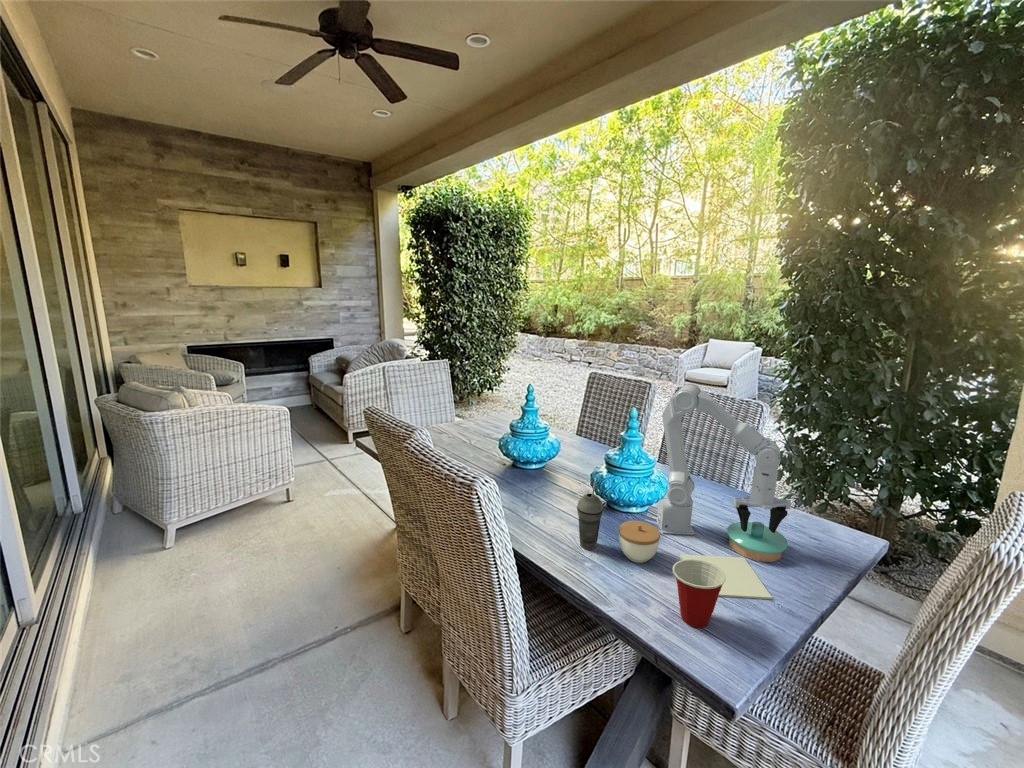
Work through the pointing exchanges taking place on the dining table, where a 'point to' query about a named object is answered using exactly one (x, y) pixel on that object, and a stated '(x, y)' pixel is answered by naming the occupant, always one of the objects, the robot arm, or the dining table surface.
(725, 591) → the mat
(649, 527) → the lidded jar
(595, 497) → the beverage cup
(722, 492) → the dining table surface
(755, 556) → the bowl
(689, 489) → the robot arm
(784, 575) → the dining table surface
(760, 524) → the lid
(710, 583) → the plastic cup
